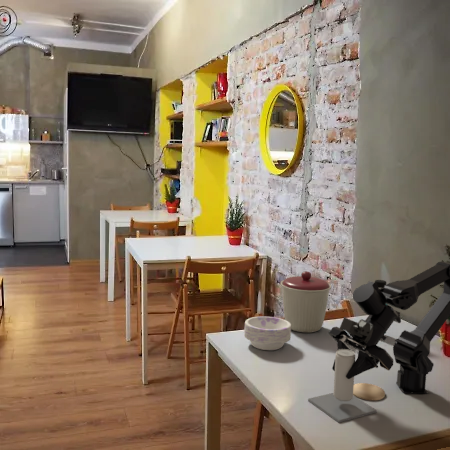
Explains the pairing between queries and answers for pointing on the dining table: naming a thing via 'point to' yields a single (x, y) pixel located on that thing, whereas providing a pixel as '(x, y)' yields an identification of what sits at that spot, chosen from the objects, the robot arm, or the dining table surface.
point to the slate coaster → (342, 407)
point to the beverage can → (343, 375)
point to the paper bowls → (267, 332)
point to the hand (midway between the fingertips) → (340, 374)
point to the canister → (305, 302)
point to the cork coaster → (368, 391)
